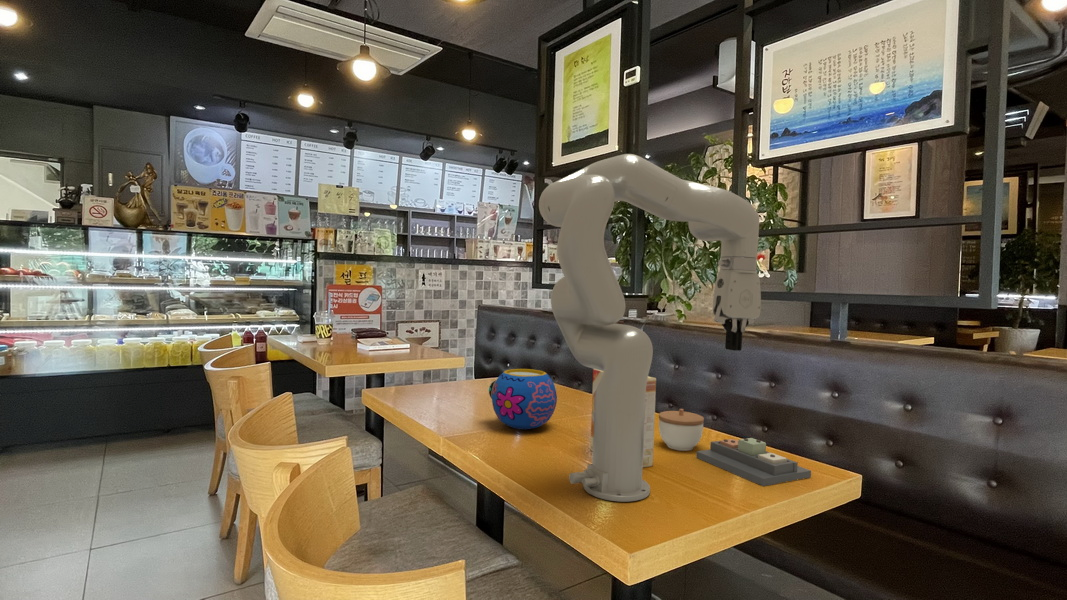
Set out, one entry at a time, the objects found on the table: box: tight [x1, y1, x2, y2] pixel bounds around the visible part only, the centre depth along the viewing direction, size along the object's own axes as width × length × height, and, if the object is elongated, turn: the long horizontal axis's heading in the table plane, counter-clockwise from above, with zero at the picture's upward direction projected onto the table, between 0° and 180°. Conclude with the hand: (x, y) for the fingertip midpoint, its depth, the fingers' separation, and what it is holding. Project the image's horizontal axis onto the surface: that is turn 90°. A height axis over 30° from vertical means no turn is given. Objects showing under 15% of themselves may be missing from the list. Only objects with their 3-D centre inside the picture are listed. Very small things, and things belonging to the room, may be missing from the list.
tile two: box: [738, 437, 767, 456], centre depth 121 cm, size 4×4×3 cm
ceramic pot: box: [488, 368, 558, 430], centre depth 148 cm, size 18×18×15 cm
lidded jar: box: [658, 408, 705, 452], centre depth 135 cm, size 11×11×9 cm
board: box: [696, 440, 812, 487], centre depth 122 cm, size 14×19×4 cm
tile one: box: [758, 452, 788, 464], centre depth 117 cm, size 4×4×3 cm
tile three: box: [719, 438, 739, 449], centre depth 126 cm, size 4×4×3 cm
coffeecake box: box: [589, 368, 657, 468], centre depth 125 cm, size 15×7×20 cm, turn 27°
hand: (733, 349), depth 121 cm, fingers closed
